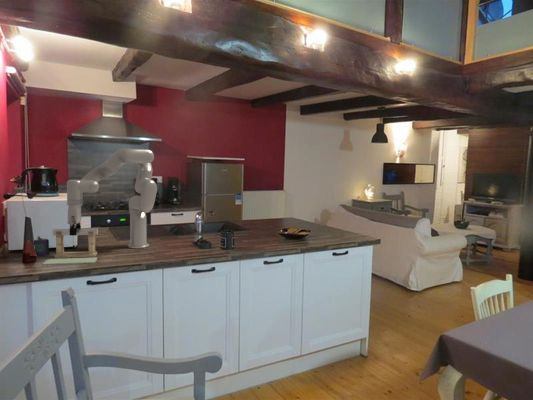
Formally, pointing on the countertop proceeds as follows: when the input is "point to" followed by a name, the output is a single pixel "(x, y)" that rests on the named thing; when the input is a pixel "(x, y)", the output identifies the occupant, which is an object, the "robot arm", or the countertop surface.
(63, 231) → the rail
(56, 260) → the mat
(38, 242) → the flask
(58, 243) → the rack
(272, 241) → the countertop surface
